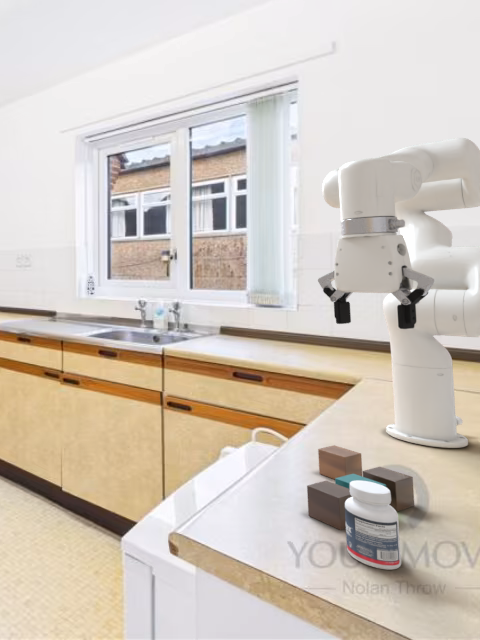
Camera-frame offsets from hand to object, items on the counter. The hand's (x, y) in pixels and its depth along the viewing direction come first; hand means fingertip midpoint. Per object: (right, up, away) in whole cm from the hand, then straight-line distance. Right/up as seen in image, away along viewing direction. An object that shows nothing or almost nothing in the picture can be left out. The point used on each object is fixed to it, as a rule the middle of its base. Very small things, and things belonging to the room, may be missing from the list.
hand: (373, 325), depth 84 cm
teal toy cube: (-12, -26, -13) cm, 31 cm away
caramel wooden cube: (-6, -26, 0) cm, 27 cm away
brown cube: (-18, -26, -15) cm, 35 cm away
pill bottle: (-21, -26, -24) cm, 41 cm away
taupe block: (-6, -26, -10) cm, 29 cm away
